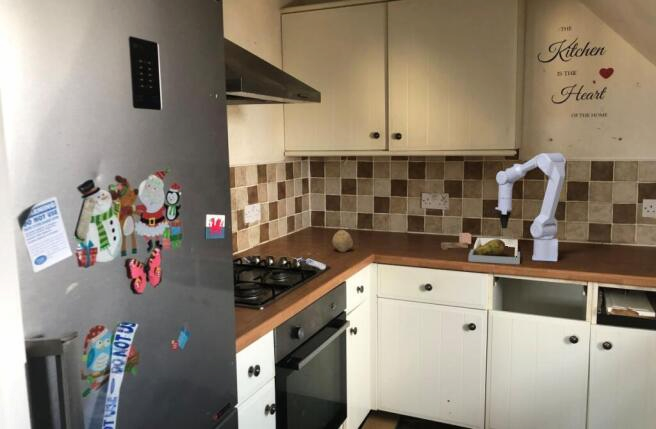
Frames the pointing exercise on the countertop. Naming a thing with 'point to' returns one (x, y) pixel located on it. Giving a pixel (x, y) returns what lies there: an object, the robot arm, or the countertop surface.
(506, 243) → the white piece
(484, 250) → the potato
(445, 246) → the crook tool
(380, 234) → the countertop surface
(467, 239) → the terracotta block
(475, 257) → the frame
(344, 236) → the natural sponge
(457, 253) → the countertop surface
